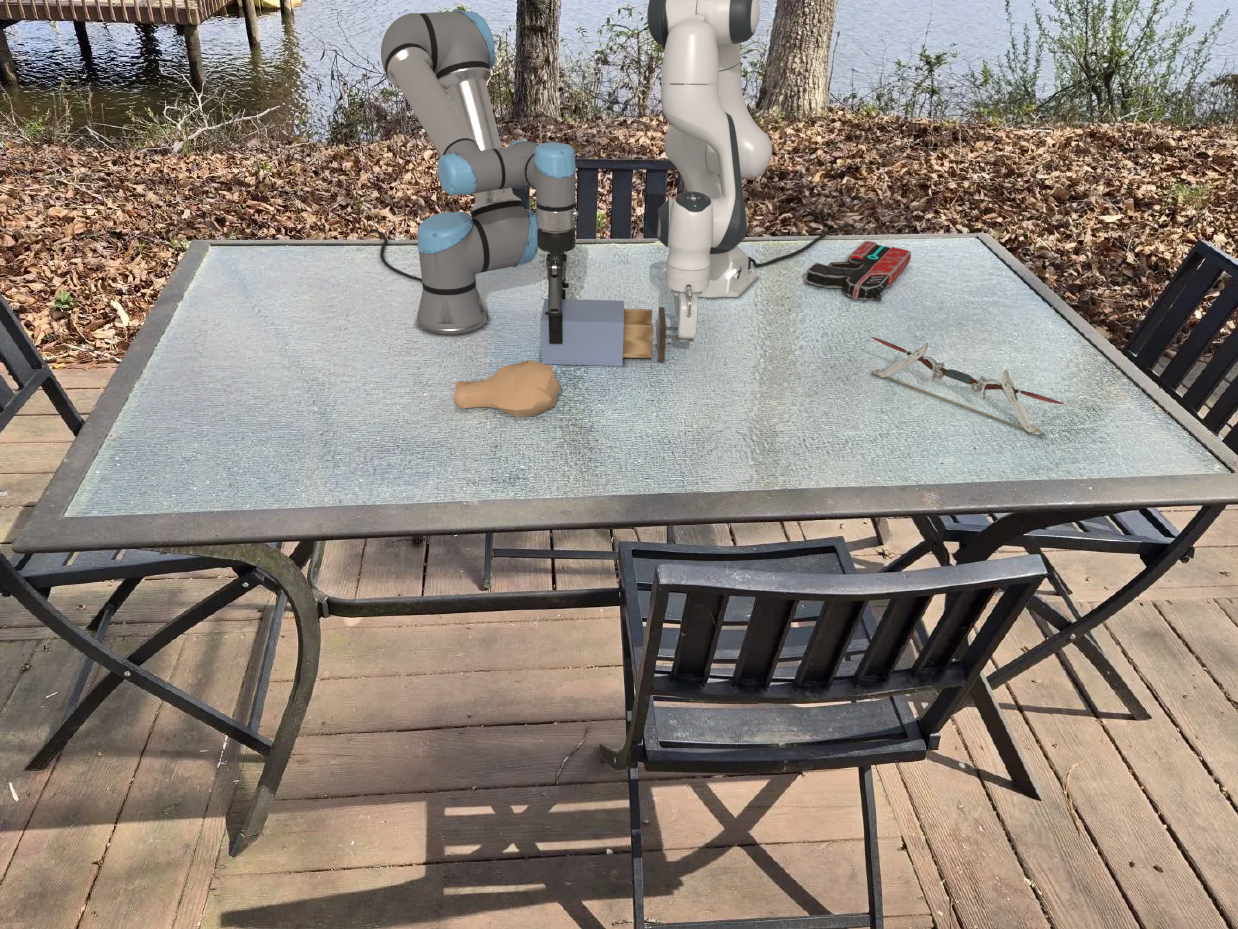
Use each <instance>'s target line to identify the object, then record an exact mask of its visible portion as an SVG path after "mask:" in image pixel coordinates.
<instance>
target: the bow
mask: <svg viewBox="0 0 1238 929" xmlns="http://www.w3.org/2000/svg"><path fill="white" fill-rule="evenodd" d="M870 338H871V339H873V340H875V341H877V342H878V343H880V344H882V345H884V346H886V347H888V348H891V349H893V350H895V351H898V352H901V353H903V354H904V353H905V354H906V355H907V357H906V358H904V359H903V358H902V359H901V360H898V361H897V362H895V363H893V364H892V365H890V366H889V367H887V369H880V368H879V369H875V370H873V372H872V373H873V374H874V375H876V376H877V377H880V378H886V379H889V380H892V381H894V382H897V383H900V384H902V385H905V386H907V387H909V388H910V387H911V388H913V389H916V390H919V391H921V392H924V393H926V394H929V395H931V396H935V397H936V398H940V399H942V400H945V401H947V402H948V401H949V402H951V403H952V404H953V403H954V404H956V405H958V406H962V407H964V408H967V409H969V410H972V411H975V412H978V413H980V414H982V415H985V416H988V417H991V418H994V419H996V420H998V421H1001V422H1004V423H1007V424H1009V425H1012V426H1015V427H1017V428H1020V429H1023V430H1025V431H1027V432H1028V433H1030V434H1032V435H1036V436H1039V435H1041V434H1042V433H1043V430H1042V429H1040V428H1039V427H1037V426H1036V425H1034V424H1033V423H1032V422H1031V420H1030V416H1029V413H1028V412H1027V410H1026V408H1025V406H1024V405H1023V403H1022V402H1021V400H1020V399H1019V398H1018V395H1017V394H1019V393H1020V394H1021V395H1024V396H1026V397H1029V398H1033V399H1035V400H1038V401H1044V402H1047V403H1051V404H1057V405H1065V403H1064V402H1061V401H1059V400H1056V399H1053V398H1051V397H1047V396H1044V395H1041V394H1038V393H1034V392H1030V391H1026V390H1022V389H1021V390H1020V389H1018V388H1015V386H1014V382H1013V381H1012V379H1011V377H1010V375H1009V370H1008V369H1005V370H1003V371H1002V374H1001V378H1000V381H999V380H997V379H995V378H989V379H987V378H986V377H985V376H984V375H981V376H980V377H979V378H978V379H975V378H974V377H973V376H972V375H970V374H968V373H965V372H963V371H959V370H956V369H950V368H949V369H946V368H945V365H946V364H945V362H944V361H943V362H937V360H935V359H934V358H933V357H931V356H927V355H926V356H924V355H925V354H926V353H927V350H928V346H929V342H925V343H924V344H923V345H922V346H921V347H920V348H917V349H915V350H913V351H912V352H911V351H907V350H906V349H905V348H903V347H902V346H901V347H900V346H898V345H896V344H893V343H892V342H888V341H886V340H883V339H880V338H877V337H874V336H870ZM918 362H920V363H922V364H923V365H924V366H925V367H926V368H927V369H929V370H931V373H930V375H929V376H928V379H927V382H929V383H932V382H933V381H935V378H936V379H938V380H941V379H943V378H944V377H947V378H949V379H953V380H956V381H959V382H961V383H964V384H967V385H970V386H971V387H970V389H971V391H972V392H974V393H979V394H978V400H980V401H984V400H986V395H987V393H986V390H989V391H993V390H994V391H995V390H999V391H1000V390H1001V391H1002V392H1003V394H1004V395H1005V397H1006V399H1007V401H1008V402H1009V404H1010V406H1011V408H1012V410H1013V413H1014V414H1015V415H1016V418H1017V420H1018V422H1019V424H1020V425H1021V426H1020V425H1018V424H1015V423H1012V422H1009V421H1007V420H1004V419H1002V418H1000V417H996V416H994V415H991V414H988V413H985V412H982V411H980V410H977V409H974V408H971V407H969V406H966V405H964V404H960V403H958V402H955V401H953V400H950V399H948V398H945V397H942V396H939V395H937V394H934V393H931V392H929V391H926V390H925V389H924V390H923V389H921V388H918V387H915V386H912V385H910V384H908V383H905V382H902V381H899V380H896V379H894V378H891V377H890V376H892V375H896V374H897V373H899V372H901V371H903V370H904V369H906V368H907V367H909V366H912V365H913V364H916V363H918Z"/></svg>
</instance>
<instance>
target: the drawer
mask: <svg viewBox="0 0 1238 929" xmlns="http://www.w3.org/2000/svg"><path fill="white" fill-rule="evenodd" d="M665 309H666V308H665V306H658V314H657V329H656V330H657V331H656V347H657V360H658V362H659V363H661V362H662V363H665V356H666V355H665V354H666V340H679V339H681V340H688V342H693V341H694V340H695V338H679V337H678V335H667V331H670V332H671V331H672V332H678V330H677V326H667V320H666V310H665ZM652 323H653V309H651V308H650V309H649V308H624V337H623V358H632V359H633V358H634V359H636V358H637V359H652V358H653V342H654V324H652Z"/></svg>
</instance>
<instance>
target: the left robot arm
mask: <svg viewBox="0 0 1238 929" xmlns="http://www.w3.org/2000/svg"><path fill="white" fill-rule="evenodd" d="M495 50H496V44H495V40H494V37H493V34H492V31H491V28H490V26H489V24H488V23H487V21H486V20H485V18H484V17H483V16H482V15H480V14H479V13H478V12H475V11H471V10H470V11H468V10H467V11H466V10H465V11H464V10H459V9H458V10H454V11H436V12H435V11H434V12H411V13H410V12H409V13H406V14H404V15H401V16H400V17H398V18H397V19H395V20H394V21H393V22H392V23H391V24H390V25H389V27H388V28H387V29H386V31H385V33H384V35H383V37H382V42H381V45H380V59H381V65H382V68H383V71H384V73H385V75H386V77H387V78H388V80H389V82H390V83H391V84H392V85H393V86H394V87H395V88H396V89H399V90H400V91H401V93H402V94H403V97H405V100H406V101H407V103H408V104H409V106H410V108H411V110H412V111H413V113H414V115H415V116H416V118H417V120H418V122H419V123H420V125H421V127H422V129H423V130H424V132H425V134H426V135H427V137H428V139H429V140H430V142H431V144H432V146H433V148H434V149H435V151H436V152H437V154H438V156H439V158H438V161H437V176H438V180H439V183H440V186H441V188H442V190H443V191H444V193H446V194H447V195H449V196H470V195H473V200H474V203H473V206H472V208H471V209H470V215H469V213H466V212H463V211H454V212H452V211H446V212H440V213H437V214H434V215H432V216H429V217H427V218H426V219H424V220H423V221H422V222H421V223H420V224H419V226H418V227H417V247H416V248H417V251H418V258H419V264H420V266H419V267H420V275H421V276H420V277H418V276H415V275H412V274H409V273H406V272H404V271H402V270H400V269H397V268H396V267H393V266H392V265H390V264H389V263H388V262H387V261H386V259H385V257H384V250H385V247H386V246H387V243H388V238H387V237H386V236H385V234H383V233H382V231H380V230H378V229H376V228H371V229H369V231H368V234H372V233H373V232H374V233H376V234H378V235H379V236H380V237H381V238H382V239H383V240H384V241H383V242H382V245H381V247H380V252H379V256H380V259H381V262H382V263H383V264H384V266H385V267H386V268H388V269H389V270H391V271H393V272H394V273H397V274H399V275H402V276H404V277H406V278H408V279H412V280H415V281H417V282H421V284H422V292H421V297H420V302H419V305H418V310H417V316H416V318H417V325H418V326H419V328H420V329H421V330H423V331H424V332H427V333H430V334H433V335H440V336H459V335H465V334H469V333H473V332H476V331H477V330H480V329H481V328H483V327H484V326H485V325H486V323H487V320H488V316H487V310H486V306H485V304H484V298H483V297H482V298H481V295H480V293H479V291H478V288H477V278H476V277H477V276H476V275H477V274H482V273H486V272H492V271H497V270H503V269H508V268H517V267H519V266H522V265H527V264H529V263H531V262H532V261H533V260H534V259H535V257H536V256H537V254H538V251H539V250H541V251H542V252H547V254H546V259H545V266H546V272H547V273H546V279H547V281H548V284H547V285H548V287H547V288H548V290H547V299H548V311H545V315H548V316H549V344H563V324H562V311H561V308H562V299H567V292H566V289H569V287H570V286H569V285H570V283H569V282H566V281H567V277H566V270H567V263H568V254H566V253H569V252H570V251H572V250H574V249H575V247H576V229H575V226H576V217H578V216H579V211H577V210H576V171H577V165H576V156H575V155H576V154H575V150H574V148H573V146H572V145H570V144H567V143H561V142H555V141H553V142H552V141H551V142H543V143H539V144H536V143H535V142H531V141H529V140H524V139H518V140H517V139H516V140H514V141H512V142H510V144H508V145H507V146H505V147H504V146H503V147H502V143H501V140H500V134H499V131H498V127H497V122H496V118H495V115H494V110H493V106H492V102H491V98H490V94H489V89H488V86H487V82H488V80H489V79H490V76H491V68H493V66H494V65H495V61H496V52H495ZM525 186H526V187H529V188H531V189H533V190H535V213H534V212H533V211H532V210H531V209H528V208H525V207H524V203H523V200H522V199H521V198H520V197H519V196H517V195H515V194H514V191H513V188H518V187H525Z"/></svg>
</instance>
